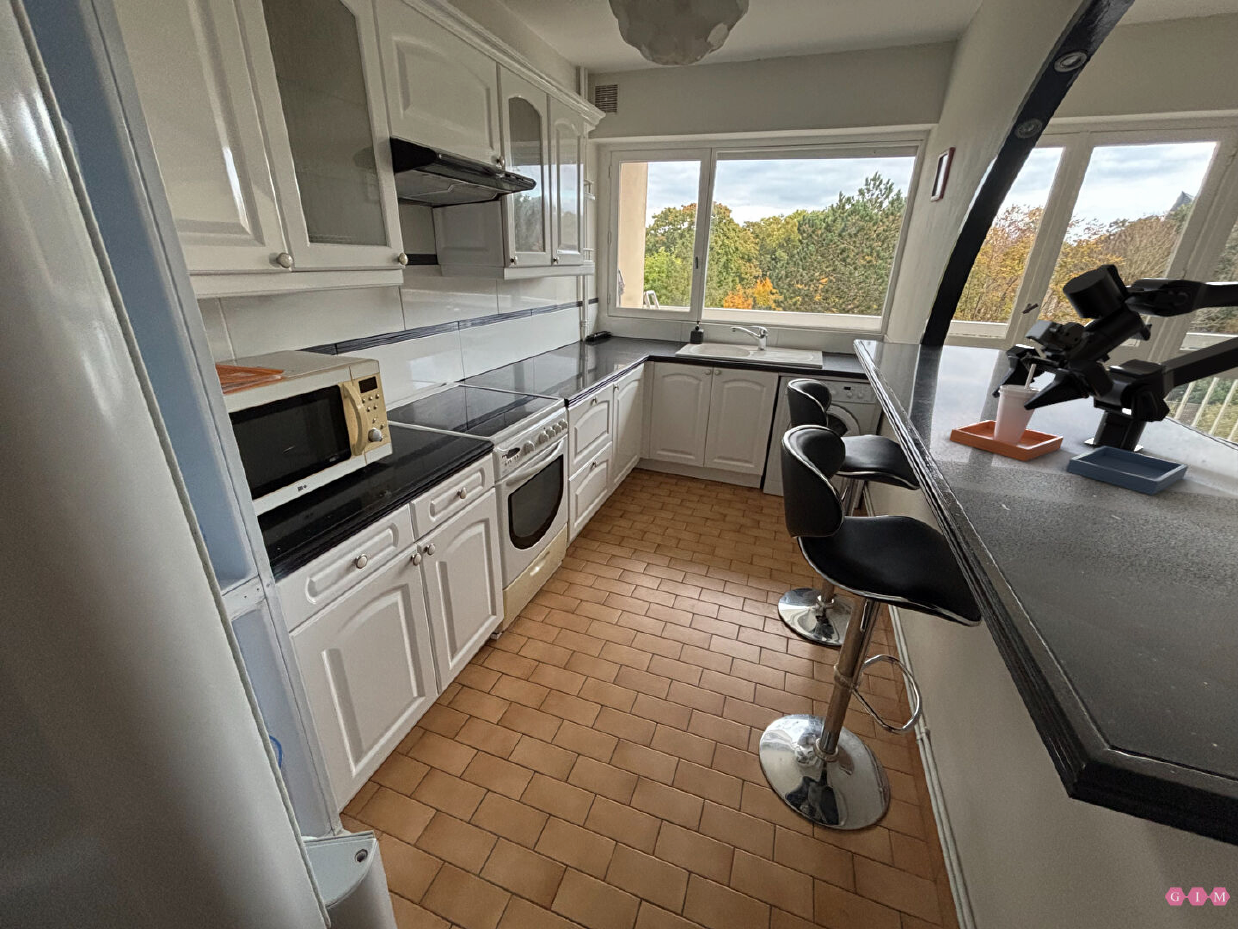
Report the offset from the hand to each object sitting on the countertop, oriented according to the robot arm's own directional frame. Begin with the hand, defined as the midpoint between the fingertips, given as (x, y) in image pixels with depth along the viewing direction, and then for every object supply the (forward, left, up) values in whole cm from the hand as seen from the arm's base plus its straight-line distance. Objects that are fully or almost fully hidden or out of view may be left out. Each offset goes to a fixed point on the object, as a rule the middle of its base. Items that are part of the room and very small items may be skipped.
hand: (1008, 401), depth 89 cm
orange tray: (-1, +1, -8) cm, 8 cm away
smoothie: (-1, +1, -7) cm, 8 cm away
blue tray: (-2, +17, -8) cm, 19 cm away
